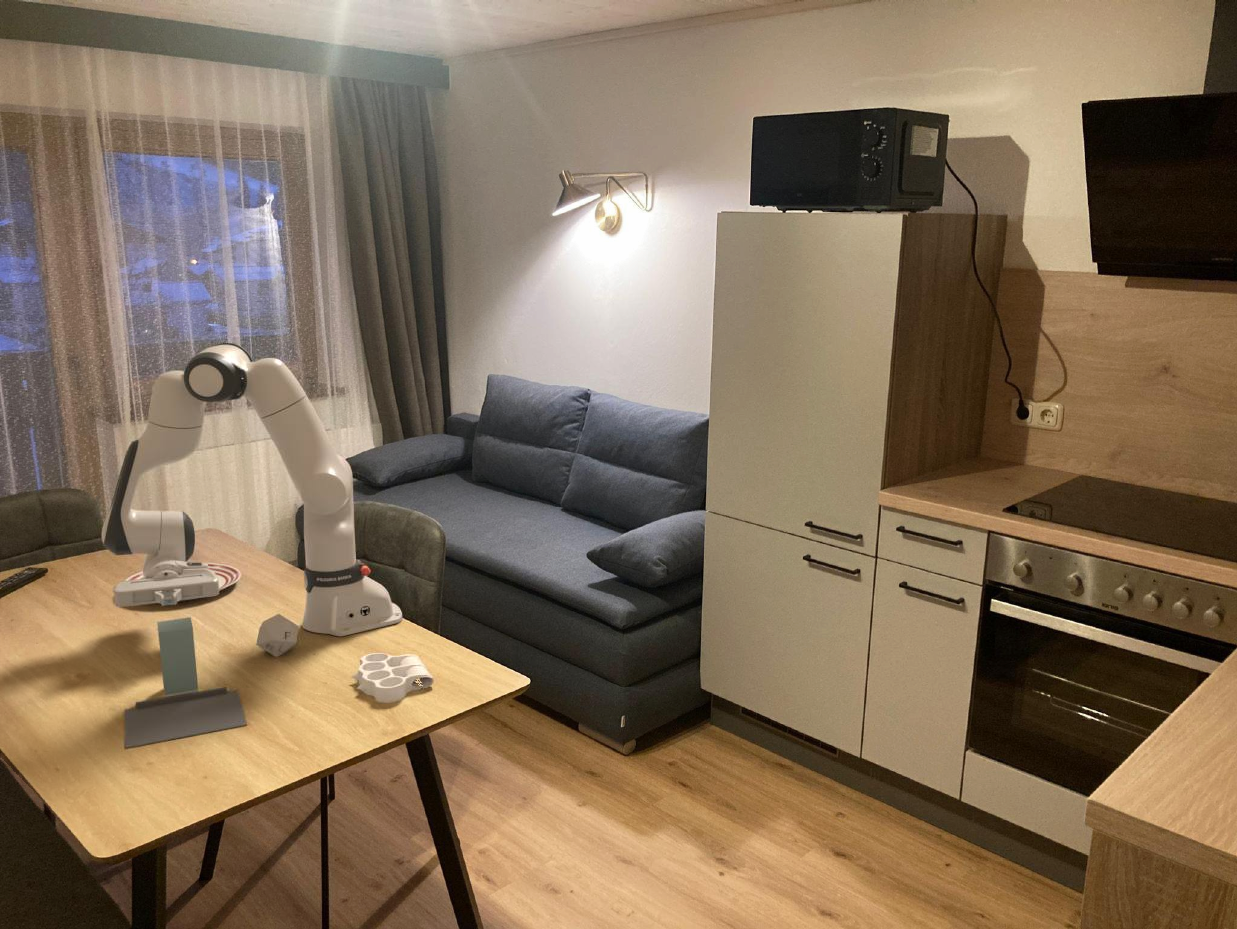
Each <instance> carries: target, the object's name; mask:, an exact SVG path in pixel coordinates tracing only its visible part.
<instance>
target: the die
mask: <svg viewBox="0 0 1237 929" xmlns="http://www.w3.org/2000/svg"><path fill="white" fill-rule="evenodd" d="M298 633H299V625H298V624H297V623H294V622H293V621H291V619H288V618H286V617H285V616H284V615H281V614H280V613H277V614H275V615H273V616H271V617H269V618H268V619H265V620H264V621H262V622H261V625H260V626H259V629H258V634H257V639H256V643H255V645H256V646H257V647H259V648H261V649H262V650H264V651H265V652H268V653H269V654H270V655H271V656H273V657H275V658H278V657H280V656H282V655H284V654H285V653H287V652H289V651H290V650H293V648H294V647H295V646H296V643H297V640H298Z"/></svg>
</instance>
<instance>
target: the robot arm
mask: <svg viewBox="0 0 1237 929" xmlns="http://www.w3.org/2000/svg"><path fill="white" fill-rule="evenodd" d="M242 397H243V398H245V399H246V400H247V401H249V403H250V404H251V406H252V407H253V409H254V410H255V412H256V414H257V416H258V417H259V419H260V421H261V422H262V424H263V426H264V428H265V430H266V431H267V433H268V434H269V437H270V438H271V440H272V442H273V443H274V445H275V447H276V449H277V451H278V453H279V455H280V456H281V459H282V461H283V464H284V466H285V468H286V471H287V472H288V476H289V477H290V480H291V481H292V483H293V485H294V488H295V490H296V492H297V493H298V495H299V498H300V500H301V501H302V503H303V539H304V554H305V555H304V556H305V558H304V559H305V565H304V566H303V567H304V568H303V570H304V572H303V580H304V581H303V582H304V588H305V591H306V595H305V596H306V599H305V607H304V608H305V609H304V615H303V619H302V623H301V626H302V628H303V629H305V630H306V631H309V632H311V633H312V632H313V633H315V634H316V633H317V634H329V635H333V636H335V637H344V636H349V635H352V634H356V633H358V634H359V633H363V632H365V631H369V630H373V629H374V630H375V629H379V628H382V627H386V626H390V625H394V624H398V623H400V622H401V621H402V619H403V613H402V610H401V608H400V607H399V606H398V605H397V604H396V603H394V602H392V598H391V596H390V593H389V592H388V590H387V589H386V588H385V587H384V586H383V585H382V584H381V583H379V582H377V581H376V580H374V579H372V578H370V577H368V576H369V575H370V574H371V572H372V571H371V569H370V568H369V566H367V565H366V564H365V563H363V562H362V561H360V560H359V559H356V558H357V557H356V542H355V541H356V540H355V539H356V536H355V515H354V513H355V510H354V508H355V507H354V482H353V480H354V479H353V471H352V468H351V465H350V463H349V462H348V461H347V460H346V459H345V458H344V457H343V456H341V455H339V454H337V452H336V451H335V448H334V447H333V444H332V442H331V439H330V438H329V435H328V432H327V431H326V427H325V426H324V423H323V422H322V420H321V418H320V417H319V415H318V414H317V411H316V410H315V408H314V406H313V404H312V402H311V401H310V399H309V397H308V395H307V393H306V392H305V390H304V388H303V387H302V385H301V384H300V382H299V381H298V379H297V378H296V376H295V375H294V373H293V372H292V371H291V370H290V369H289V367H288V366H287V365H286V364H285V363H284V362H283V361H282V360H281V359H279V358H275V357H264V358H261V359H258V360H256V361H253V358H252V356H251V354H250V353H249V352H248V351H247V349H246V348H244V347H243V346H241V345H239V344H236V343H231V342H222V343H218V344H216V345H213V346H210V347H207V348H205V349H202V351H199V352H198V353H197V354H196V355H194V356H193V357H192V358H190V360H189V361H188V362H187V364H186V366H185V368H184V370H170V371H165V372H163V373H162V374H160V375H159V376H158V377H157V378H156V380H155V382H154V386H153V390H152V392H151V396H150V402H149V409H148V414H147V415H148V417H147V425H146V428H145V430H144V432H143V433H142V435H141V436H140V437H139V438H138V439H136V440H133V441H132V442H130V444H129V446H128V448H127V450H126V453H125V456H124V459H123V462H122V465H121V468H120V472H119V476H118V479H117V482H116V486H115V489H114V494H113V497H112V501H111V505H110V507H109V510H108V513H107V515H106V517H105V520H104V522H103V524H102V525H103V526H102V527H101V528H102V529H101V540H102V545H103V546H104V547H105V548H106V549H107V550H108V551H109V552H110V553H112V554H113V555H115V556H126V555H134V554H135V555H136V554H138V555H139V554H141V555H143V554H145V555H146V556H145V558H144V560H143V564H142V571H143V579H135V580H127V581H125V580H122V581H120V582H118V583H117V585H116V586H113V588H112V593H113V596H114V604H115V606H116V607H119V608H124V607H125V608H126V607H132V606H133V607H134V606H135V607H136V606H142V605H151V604H161V606H162V607H163V606H172V605H177V604H178V602H180V601H179V600H184V601H187V600H186V599H191V600H196V599H195V598H197V599H199V598H200V599H202V598H210V597H216V596H218V595H219V594H220V591H219V582H218V578H217V576H216V574H215V573H214V572H213V571H212V570H210V569H209V568H208V564H207V563H208V562H191V561H190V562H188V561H189V560H190V558H191V557H192V556H193V554H194V552H195V544H196V534H195V533H196V532H195V527H194V526H195V525H194V523H193V520H192V519H191V517H190V516H189V515H188V514H187V513H186V512H184V511H183V510H181V511H180V510H179V511H178V510H144V509H143V510H139V509H134V508H132V507H133V503H134V499H135V497H136V492H137V489H138V485H139V483H140V480H141V478H142V477H143V476H144V475H145V474H147V473H148V472H150V471H152V470H155V469H157V468H160V467H164V466H168V465H171V464H175V463H178V462H180V461H183V460H185V459H187V458H188V457H189V456H191V455H193V454H194V453H195V452H196V451H197V450H198V448H199V446H200V445H201V440H202V436H203V430H204V418H205V409H206V405H207V404H208V403H221V402H222V403H223V402H226V401H227V402H228V401H237V400H240V399H241V398H242Z"/></svg>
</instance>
